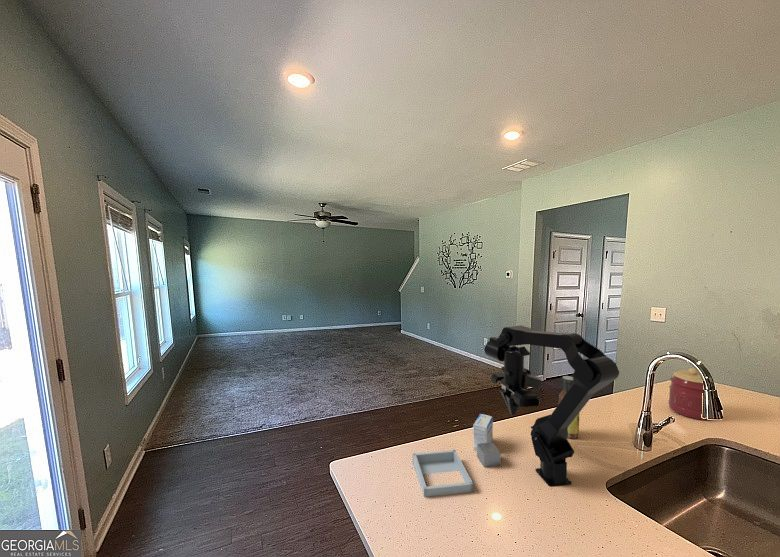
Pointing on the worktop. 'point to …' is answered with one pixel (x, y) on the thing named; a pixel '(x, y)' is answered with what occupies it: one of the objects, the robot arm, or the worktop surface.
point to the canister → (686, 393)
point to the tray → (439, 464)
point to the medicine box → (482, 430)
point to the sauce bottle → (574, 426)
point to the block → (488, 454)
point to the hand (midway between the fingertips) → (512, 414)
